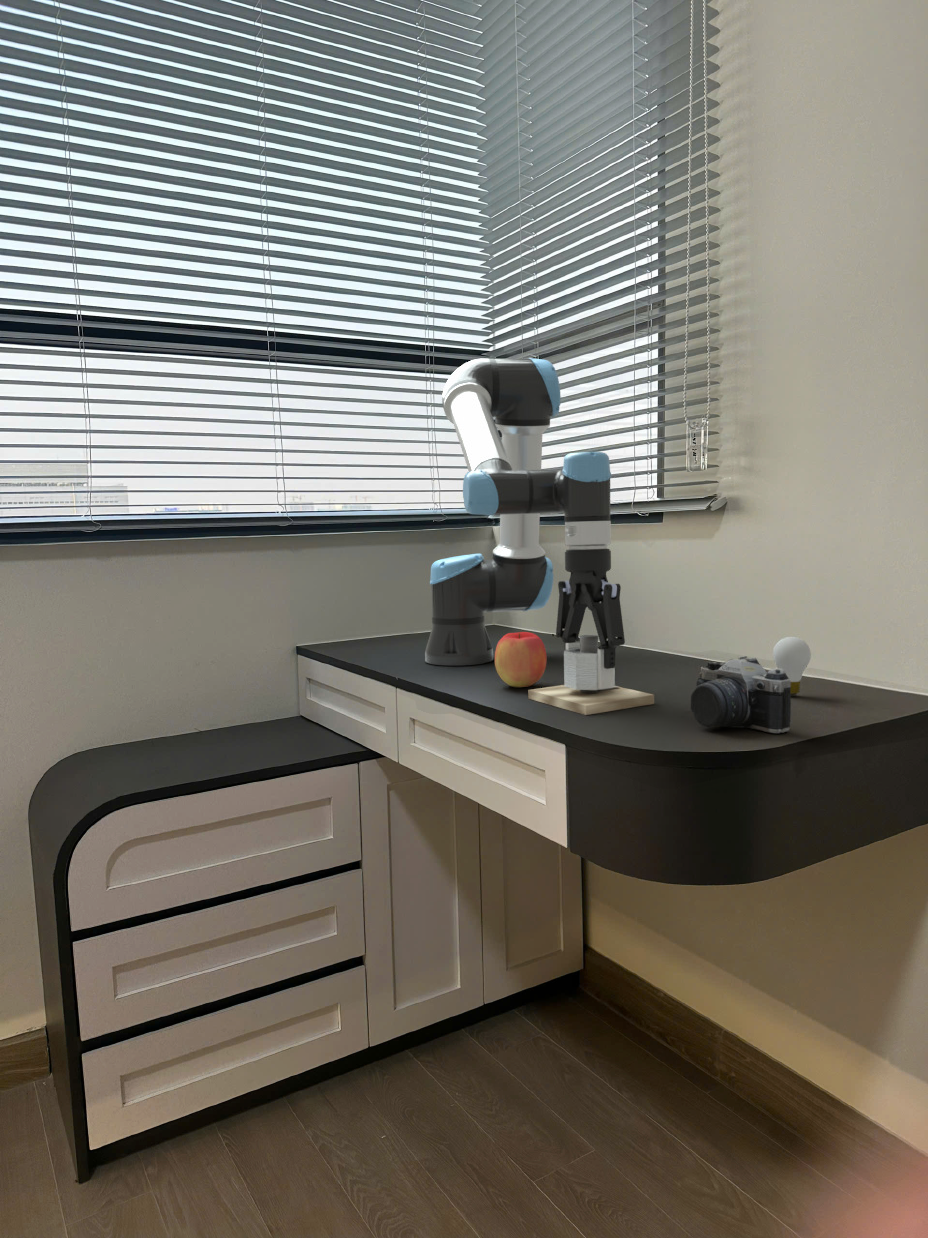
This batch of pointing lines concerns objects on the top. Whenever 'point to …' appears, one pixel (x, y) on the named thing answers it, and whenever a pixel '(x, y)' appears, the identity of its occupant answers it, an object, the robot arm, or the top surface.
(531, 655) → the apple
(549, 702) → the shaft stand
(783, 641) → the light bulb
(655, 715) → the top surface
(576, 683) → the hub
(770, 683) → the camera
